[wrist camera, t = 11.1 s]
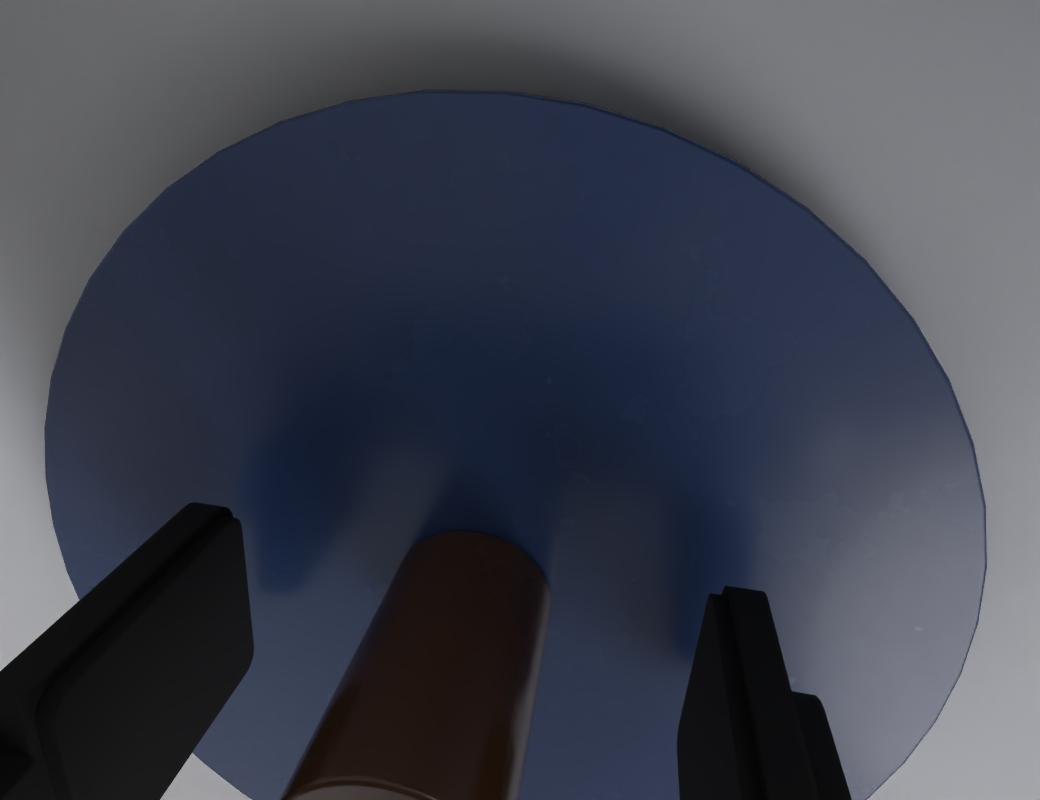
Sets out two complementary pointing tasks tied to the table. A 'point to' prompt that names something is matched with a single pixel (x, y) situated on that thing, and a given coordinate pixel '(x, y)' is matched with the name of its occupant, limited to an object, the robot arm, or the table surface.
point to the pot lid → (518, 448)
